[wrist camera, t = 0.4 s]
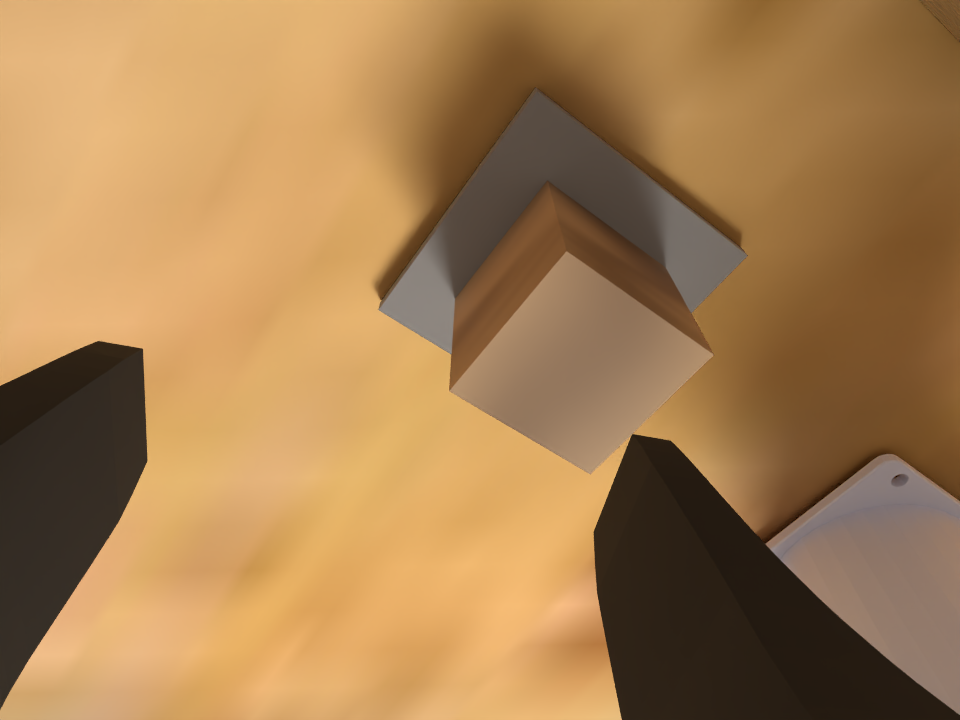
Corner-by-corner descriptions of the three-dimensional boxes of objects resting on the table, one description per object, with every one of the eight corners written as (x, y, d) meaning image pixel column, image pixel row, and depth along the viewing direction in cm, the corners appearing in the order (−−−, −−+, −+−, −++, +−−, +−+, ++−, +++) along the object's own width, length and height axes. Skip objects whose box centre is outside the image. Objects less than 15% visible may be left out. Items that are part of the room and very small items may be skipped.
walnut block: (666, 267, 19) (714, 355, 15) (569, 371, 21) (590, 474, 17) (547, 180, 18) (566, 251, 14) (455, 298, 19) (449, 391, 15)
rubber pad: (741, 248, 19) (748, 255, 19) (574, 420, 22) (576, 430, 22) (535, 87, 17) (536, 91, 17) (380, 301, 20) (378, 309, 19)
